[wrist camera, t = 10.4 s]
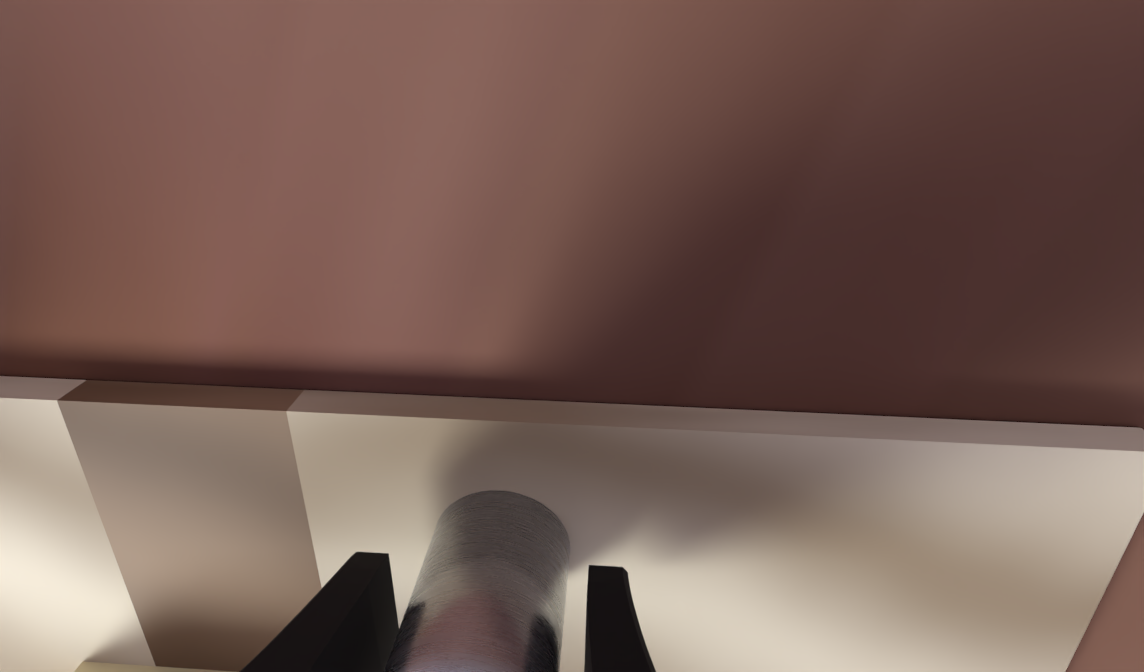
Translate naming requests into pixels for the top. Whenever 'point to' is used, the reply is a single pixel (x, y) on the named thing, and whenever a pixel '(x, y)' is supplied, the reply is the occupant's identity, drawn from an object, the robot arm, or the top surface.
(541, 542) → the silver metal cylinder
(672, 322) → the top surface
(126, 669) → the cream rectangular block
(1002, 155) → the top surface
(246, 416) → the subfloor board
